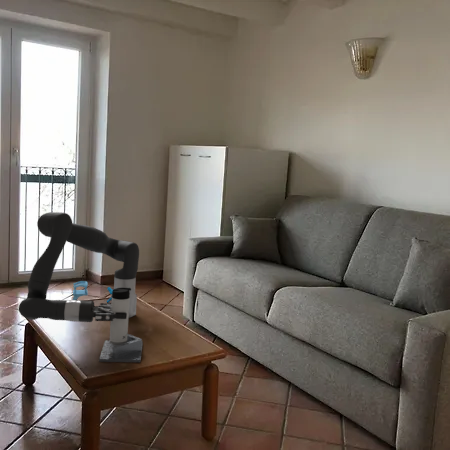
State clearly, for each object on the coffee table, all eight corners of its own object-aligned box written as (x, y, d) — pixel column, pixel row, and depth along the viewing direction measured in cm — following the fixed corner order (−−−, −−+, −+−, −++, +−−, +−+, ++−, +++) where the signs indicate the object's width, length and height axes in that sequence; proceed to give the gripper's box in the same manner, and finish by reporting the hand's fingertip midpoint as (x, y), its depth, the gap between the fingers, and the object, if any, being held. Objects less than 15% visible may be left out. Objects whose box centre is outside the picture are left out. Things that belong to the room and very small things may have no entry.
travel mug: (128, 345, 184) (132, 290, 182) (109, 345, 182) (112, 290, 180) (127, 339, 190) (130, 286, 188) (108, 339, 188) (111, 285, 186)
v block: (98, 361, 177) (99, 347, 176) (105, 343, 195) (105, 330, 194) (140, 362, 179) (140, 348, 178) (142, 343, 196) (143, 331, 196)
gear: (122, 302, 243) (108, 287, 243) (113, 311, 243) (98, 295, 242) (124, 299, 254) (110, 284, 254) (115, 307, 254) (101, 292, 253)
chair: (70, 304, 241) (71, 279, 239) (88, 304, 243) (89, 279, 241) (70, 309, 233) (70, 283, 232) (89, 309, 236) (90, 283, 234)
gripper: (76, 306, 175) (126, 308, 177) (83, 295, 190) (129, 297, 192) (75, 327, 176) (125, 329, 178) (82, 315, 191) (128, 317, 193)
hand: (127, 312), depth 185 cm, fingers closed on travel mug, 6 cm apart
